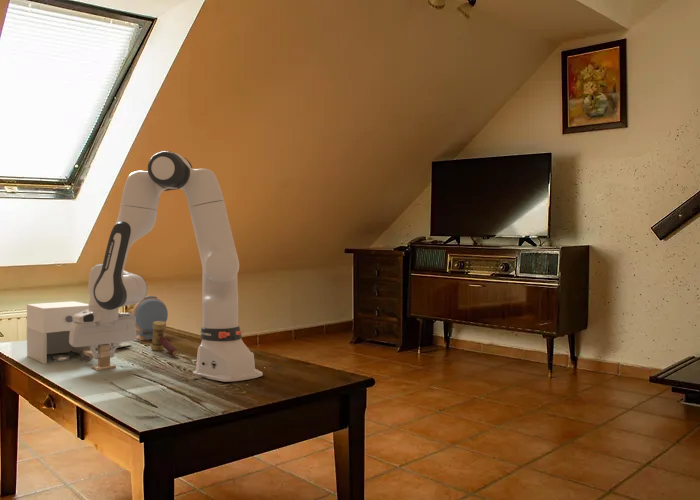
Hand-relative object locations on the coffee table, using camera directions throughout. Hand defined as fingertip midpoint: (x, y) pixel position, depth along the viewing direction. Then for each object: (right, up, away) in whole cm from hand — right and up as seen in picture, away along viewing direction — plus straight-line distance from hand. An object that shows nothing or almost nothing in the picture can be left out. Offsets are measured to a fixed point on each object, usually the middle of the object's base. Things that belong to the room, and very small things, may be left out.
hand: (103, 358), depth 201 cm
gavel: (+11, -4, +27) cm, 30 cm away
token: (-20, -3, +15) cm, 25 cm away
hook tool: (-5, -3, +6) cm, 8 cm away
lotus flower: (-11, -3, +36) cm, 38 cm away
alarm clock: (-4, -2, +59) cm, 59 cm away
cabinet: (-22, -3, +19) cm, 29 cm away
